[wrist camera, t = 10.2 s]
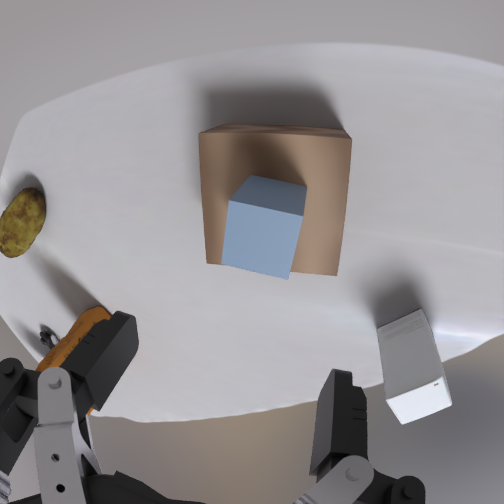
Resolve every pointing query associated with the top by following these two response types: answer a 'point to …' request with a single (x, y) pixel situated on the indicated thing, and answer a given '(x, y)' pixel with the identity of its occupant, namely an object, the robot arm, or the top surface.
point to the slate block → (264, 226)
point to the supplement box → (412, 368)
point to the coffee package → (73, 339)
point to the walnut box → (283, 169)
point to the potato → (21, 222)
